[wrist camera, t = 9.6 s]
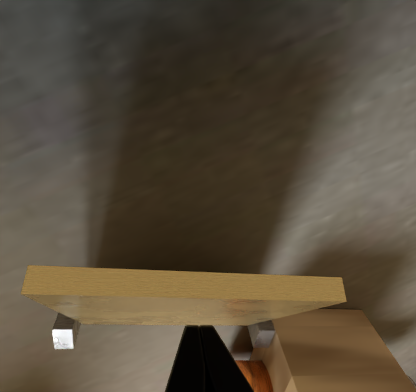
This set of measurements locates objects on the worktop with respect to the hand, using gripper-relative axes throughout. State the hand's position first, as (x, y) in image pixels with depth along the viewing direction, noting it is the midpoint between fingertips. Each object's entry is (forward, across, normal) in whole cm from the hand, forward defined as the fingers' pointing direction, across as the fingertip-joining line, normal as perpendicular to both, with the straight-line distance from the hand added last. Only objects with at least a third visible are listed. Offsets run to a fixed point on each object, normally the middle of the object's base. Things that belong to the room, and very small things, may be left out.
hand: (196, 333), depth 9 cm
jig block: (+8, -10, +12) cm, 18 cm away
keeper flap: (+4, 0, +3) cm, 5 cm away
